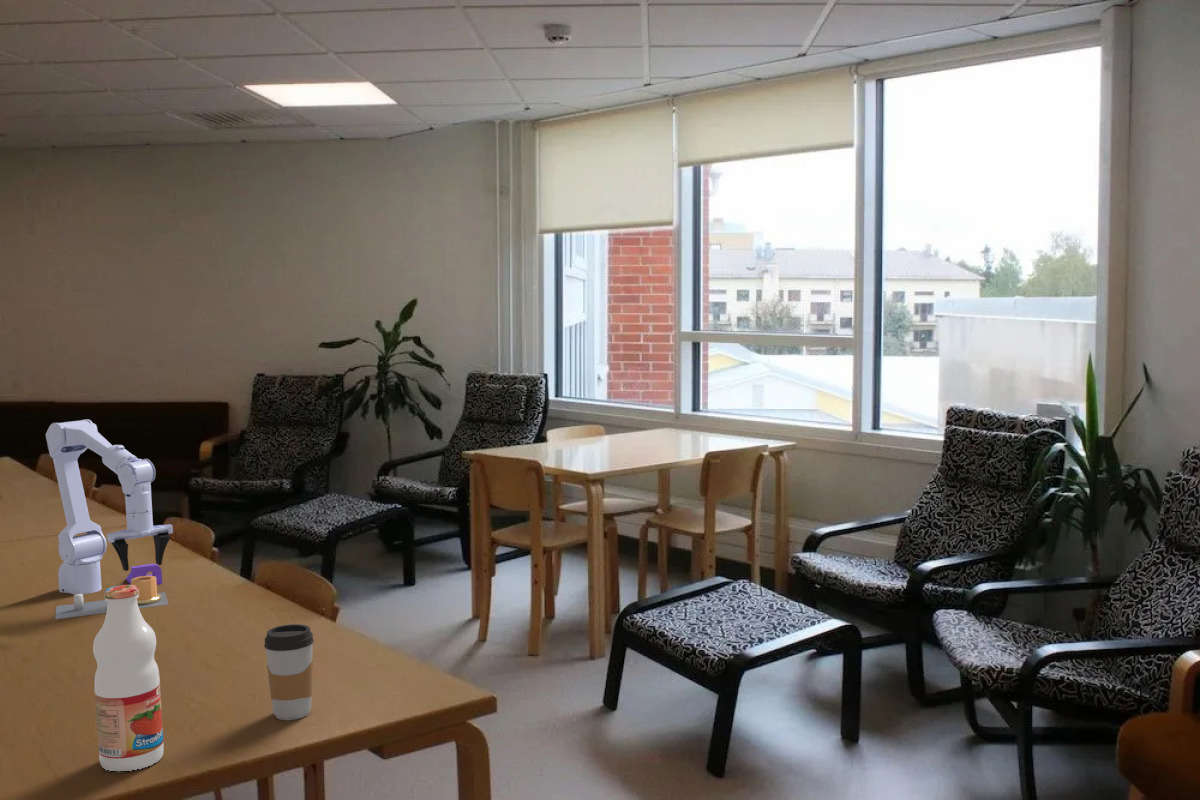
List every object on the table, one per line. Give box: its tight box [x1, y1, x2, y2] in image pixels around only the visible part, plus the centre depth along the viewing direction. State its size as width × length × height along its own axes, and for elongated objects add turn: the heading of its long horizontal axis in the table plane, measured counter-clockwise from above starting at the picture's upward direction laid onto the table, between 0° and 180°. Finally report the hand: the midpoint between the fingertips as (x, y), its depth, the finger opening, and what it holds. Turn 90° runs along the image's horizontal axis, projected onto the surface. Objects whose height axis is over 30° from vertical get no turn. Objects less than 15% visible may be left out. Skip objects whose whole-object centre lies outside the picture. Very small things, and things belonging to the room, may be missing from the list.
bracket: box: [124, 563, 163, 586], centre depth 276 cm, size 12×7×7 cm, turn 33°
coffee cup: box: [263, 623, 314, 721], centre depth 187 cm, size 8×8×15 cm
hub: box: [137, 580, 161, 605], centre depth 257 cm, size 7×7×5 cm
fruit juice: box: [92, 584, 165, 773], centre depth 169 cm, size 9×9×28 cm
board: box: [55, 592, 169, 620], centre depth 254 cm, size 24×12×5 cm, turn 116°
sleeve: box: [131, 576, 158, 600], centre depth 256 cm, size 5×5×4 cm
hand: (142, 567), depth 256 cm, fingers open, 7 cm apart
